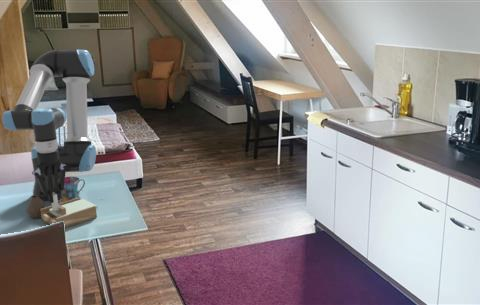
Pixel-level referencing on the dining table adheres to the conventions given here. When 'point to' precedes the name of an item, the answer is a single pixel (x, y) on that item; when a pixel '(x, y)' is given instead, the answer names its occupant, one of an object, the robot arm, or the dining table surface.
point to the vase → (35, 207)
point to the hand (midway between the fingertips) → (55, 209)
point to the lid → (71, 207)
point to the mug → (70, 189)
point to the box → (69, 215)
